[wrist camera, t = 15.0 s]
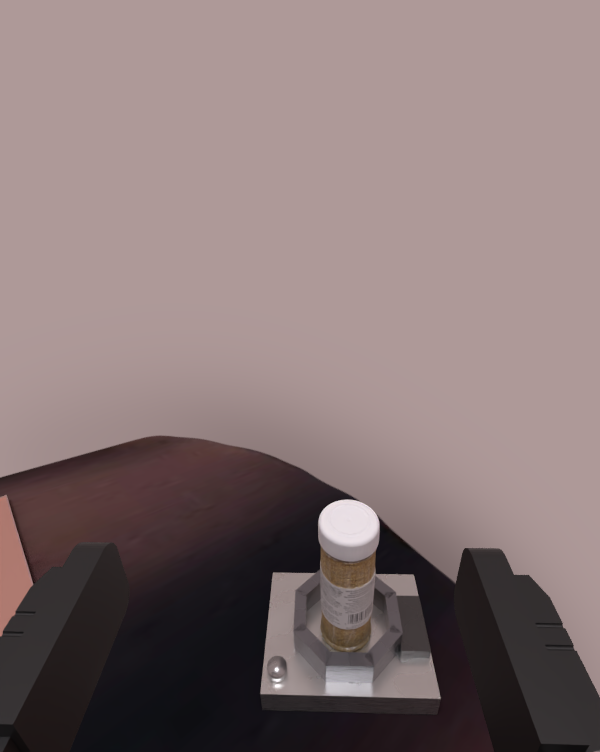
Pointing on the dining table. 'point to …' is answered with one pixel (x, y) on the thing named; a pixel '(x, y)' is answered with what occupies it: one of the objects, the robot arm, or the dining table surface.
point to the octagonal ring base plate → (348, 653)
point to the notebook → (11, 566)
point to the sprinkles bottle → (347, 573)
